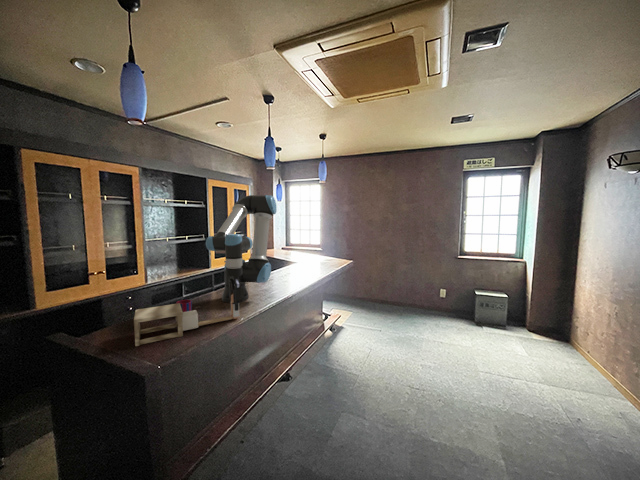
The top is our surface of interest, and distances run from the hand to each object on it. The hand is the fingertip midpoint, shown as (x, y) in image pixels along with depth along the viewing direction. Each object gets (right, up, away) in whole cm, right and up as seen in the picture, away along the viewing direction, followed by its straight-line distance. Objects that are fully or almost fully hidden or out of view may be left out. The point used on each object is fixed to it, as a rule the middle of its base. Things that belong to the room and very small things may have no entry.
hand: (235, 315), depth 122 cm
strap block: (-9, -2, -6) cm, 10 cm away
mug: (-27, -2, +3) cm, 28 cm away
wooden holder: (-26, -3, -17) cm, 31 cm away
